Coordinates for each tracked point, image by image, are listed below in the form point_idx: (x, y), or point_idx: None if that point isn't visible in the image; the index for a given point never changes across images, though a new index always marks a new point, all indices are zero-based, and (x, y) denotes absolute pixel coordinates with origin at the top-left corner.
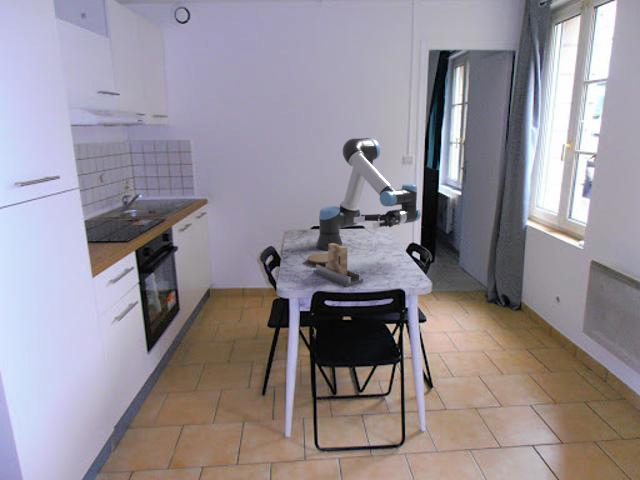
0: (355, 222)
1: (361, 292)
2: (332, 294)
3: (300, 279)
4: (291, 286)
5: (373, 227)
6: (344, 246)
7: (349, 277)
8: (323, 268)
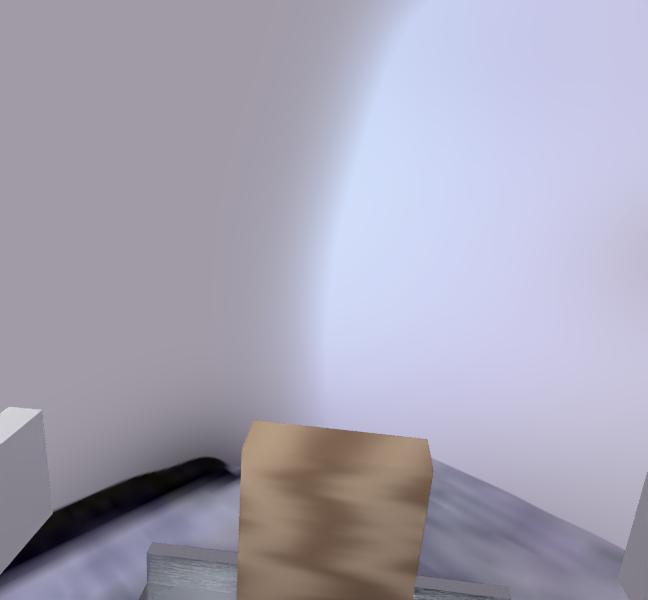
0: (631, 588)
1: (36, 566)
2: (168, 481)
3: (432, 517)
4: None
5: (42, 502)
6: (277, 451)
7: (150, 546)
8: (416, 577)
